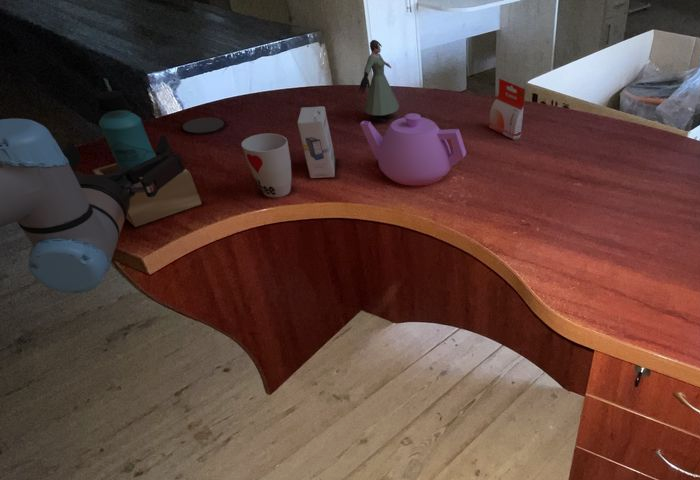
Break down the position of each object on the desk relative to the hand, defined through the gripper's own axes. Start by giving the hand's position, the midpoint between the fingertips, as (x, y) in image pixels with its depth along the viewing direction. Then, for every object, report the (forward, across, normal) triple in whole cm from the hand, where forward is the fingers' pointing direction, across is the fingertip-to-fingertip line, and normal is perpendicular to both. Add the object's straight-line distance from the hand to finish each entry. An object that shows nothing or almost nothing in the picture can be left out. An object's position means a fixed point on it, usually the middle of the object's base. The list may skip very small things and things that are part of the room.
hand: (121, 146), depth 90 cm
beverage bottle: (+4, 0, -13) cm, 14 cm away
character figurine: (+37, +47, -13) cm, 61 cm away
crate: (+4, 0, -13) cm, 14 cm away
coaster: (+40, +6, -13) cm, 43 cm away
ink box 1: (+12, +31, -13) cm, 36 cm away
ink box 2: (+23, +76, -13) cm, 80 cm away
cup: (+5, +22, -13) cm, 26 cm away
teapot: (+7, +50, -13) cm, 53 cm away
